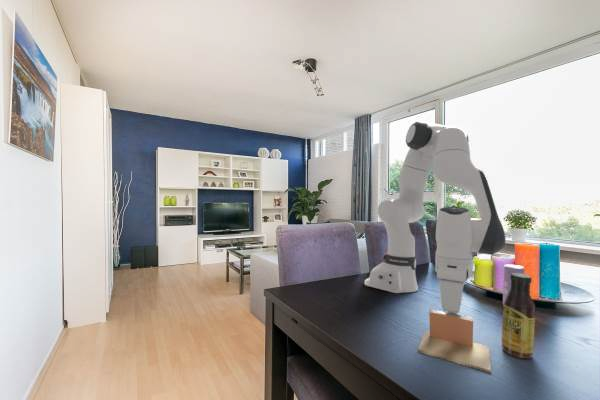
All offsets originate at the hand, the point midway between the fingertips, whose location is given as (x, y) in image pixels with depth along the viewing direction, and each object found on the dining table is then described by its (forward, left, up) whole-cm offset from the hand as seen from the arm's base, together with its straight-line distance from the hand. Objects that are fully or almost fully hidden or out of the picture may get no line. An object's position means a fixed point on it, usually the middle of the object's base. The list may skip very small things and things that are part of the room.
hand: (452, 317), depth 74 cm
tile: (0, -1, -5) cm, 6 cm away
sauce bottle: (+14, +3, -7) cm, 16 cm away
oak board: (+1, -5, -6) cm, 8 cm away
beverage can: (+17, +40, -7) cm, 43 cm away
